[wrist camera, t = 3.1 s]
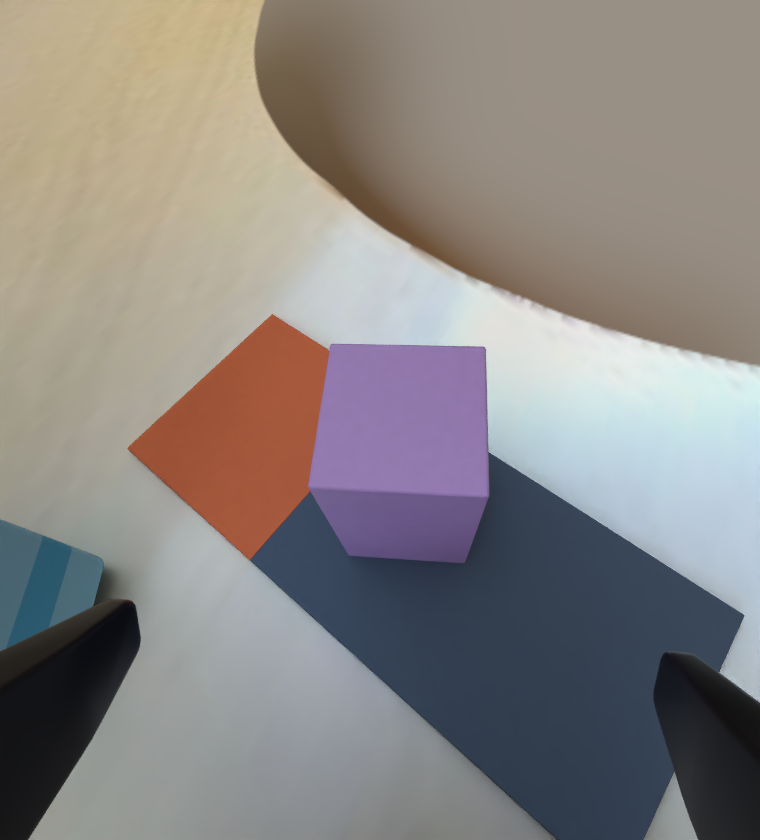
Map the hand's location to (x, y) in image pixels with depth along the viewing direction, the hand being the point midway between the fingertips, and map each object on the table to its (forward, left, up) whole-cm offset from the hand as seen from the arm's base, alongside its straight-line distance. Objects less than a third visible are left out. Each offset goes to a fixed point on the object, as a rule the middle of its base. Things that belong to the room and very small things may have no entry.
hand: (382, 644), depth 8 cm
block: (+5, +4, -12) cm, 14 cm away
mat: (+4, +4, -12) cm, 14 cm away
